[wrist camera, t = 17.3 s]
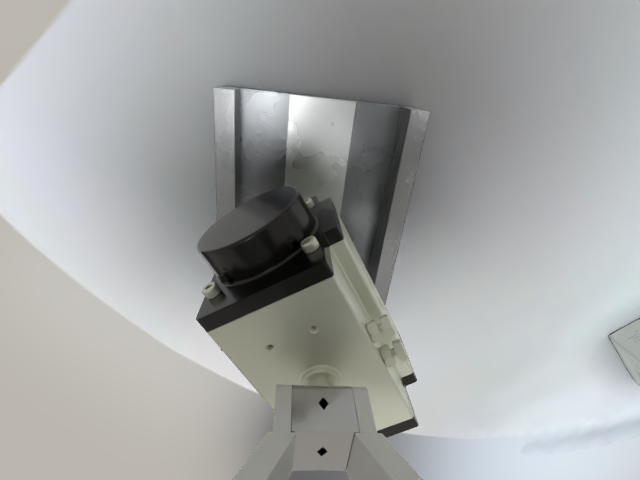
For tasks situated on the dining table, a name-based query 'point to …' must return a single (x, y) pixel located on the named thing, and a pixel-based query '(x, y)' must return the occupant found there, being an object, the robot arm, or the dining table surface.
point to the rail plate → (323, 161)
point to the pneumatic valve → (302, 305)
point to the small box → (629, 347)
